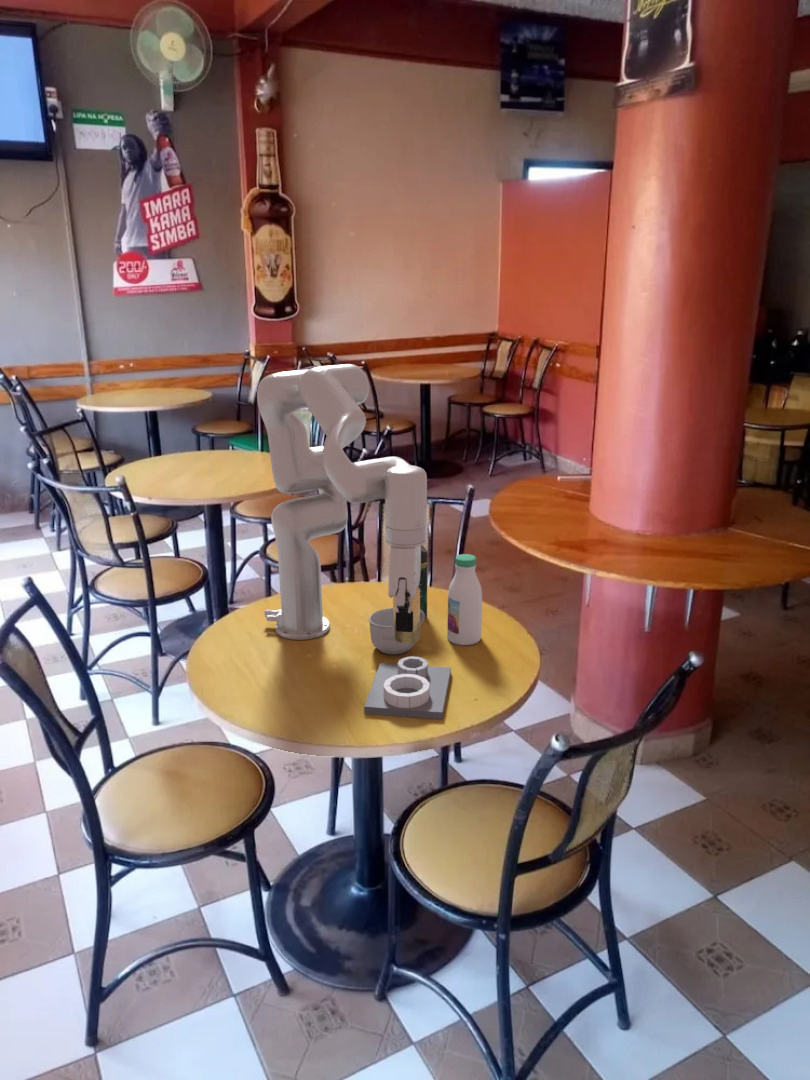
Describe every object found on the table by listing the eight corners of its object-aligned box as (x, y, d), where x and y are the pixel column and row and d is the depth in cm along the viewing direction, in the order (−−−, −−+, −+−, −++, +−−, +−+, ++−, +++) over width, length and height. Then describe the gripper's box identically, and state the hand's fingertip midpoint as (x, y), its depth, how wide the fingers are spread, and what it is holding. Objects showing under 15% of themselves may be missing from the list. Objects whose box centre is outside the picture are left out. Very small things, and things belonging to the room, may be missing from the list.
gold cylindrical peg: (391, 642, 154) (391, 593, 151) (395, 631, 159) (395, 583, 155) (418, 644, 153) (418, 595, 150) (421, 633, 158) (421, 584, 155)
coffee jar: (430, 622, 196) (431, 549, 190) (398, 625, 194) (397, 551, 188) (421, 606, 205) (421, 536, 199) (390, 609, 203) (389, 538, 197)
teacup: (382, 663, 176) (382, 630, 174) (361, 643, 185) (360, 611, 183) (438, 650, 182) (439, 617, 180) (415, 631, 191) (415, 599, 189)
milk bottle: (481, 632, 191) (483, 551, 184) (480, 647, 184) (483, 563, 177) (448, 630, 192) (449, 550, 185) (446, 645, 184) (447, 562, 178)
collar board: (364, 713, 157) (363, 695, 156) (380, 669, 174) (380, 652, 173) (442, 719, 155) (442, 700, 154) (450, 673, 172) (451, 656, 171)
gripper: (393, 519, 158) (394, 605, 164) (377, 548, 142) (379, 643, 148) (431, 520, 157) (431, 607, 163) (420, 550, 141) (420, 646, 147)
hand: (406, 623), depth 155 cm, fingers closed on gold cylindrical peg, 5 cm apart
